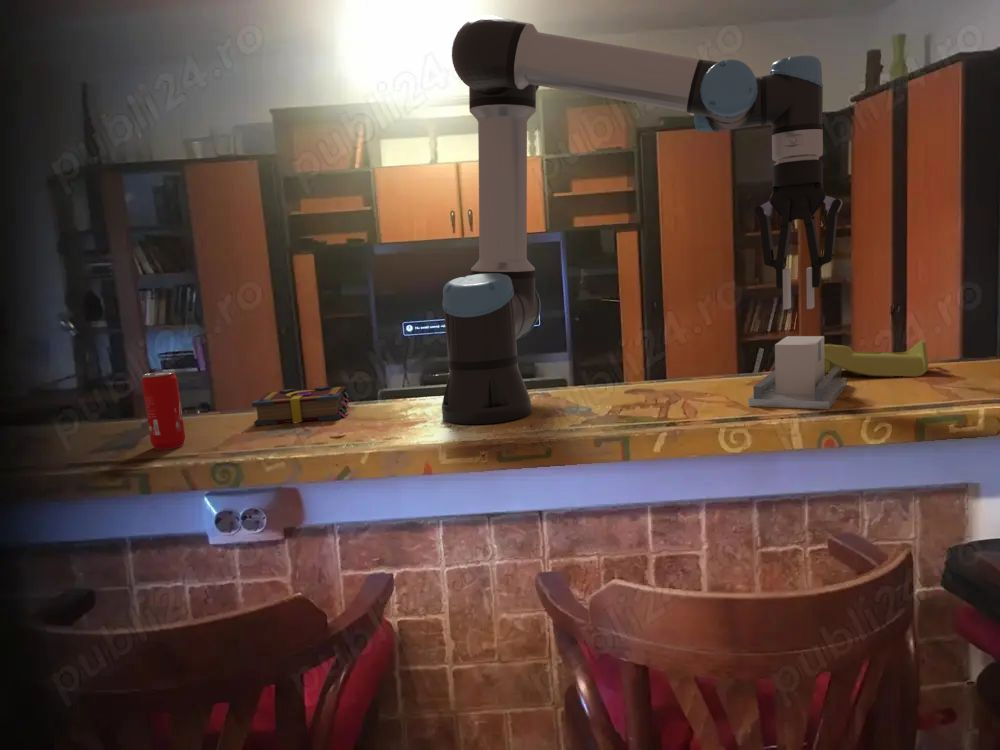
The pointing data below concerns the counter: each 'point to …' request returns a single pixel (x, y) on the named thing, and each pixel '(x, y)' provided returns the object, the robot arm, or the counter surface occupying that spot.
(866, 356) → the plastic component
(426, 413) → the counter surface
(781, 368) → the block
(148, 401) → the beverage can
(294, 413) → the decorative book
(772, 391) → the grey channel bracket
